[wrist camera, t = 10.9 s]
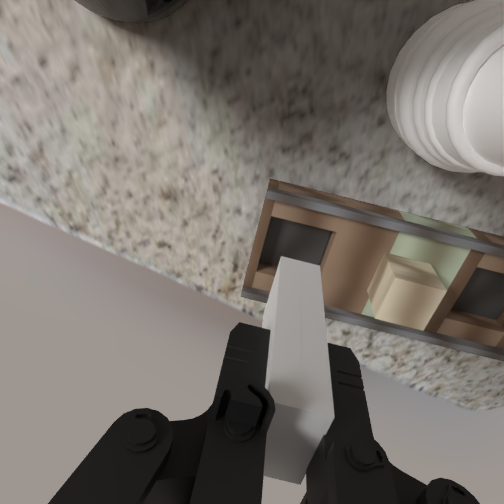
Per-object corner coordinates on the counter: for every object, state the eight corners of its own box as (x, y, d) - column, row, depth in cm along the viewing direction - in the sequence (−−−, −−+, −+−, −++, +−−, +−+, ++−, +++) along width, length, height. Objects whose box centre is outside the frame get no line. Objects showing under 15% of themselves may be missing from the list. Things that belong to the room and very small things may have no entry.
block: (367, 290, 42) (374, 318, 38) (384, 252, 40) (395, 277, 35) (410, 301, 42) (423, 330, 38) (430, 263, 40) (447, 291, 35)
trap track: (244, 279, 46) (240, 296, 43) (270, 178, 40) (267, 190, 37) (490, 339, 47) (504, 361, 43) (554, 249, 40) (576, 267, 37)
